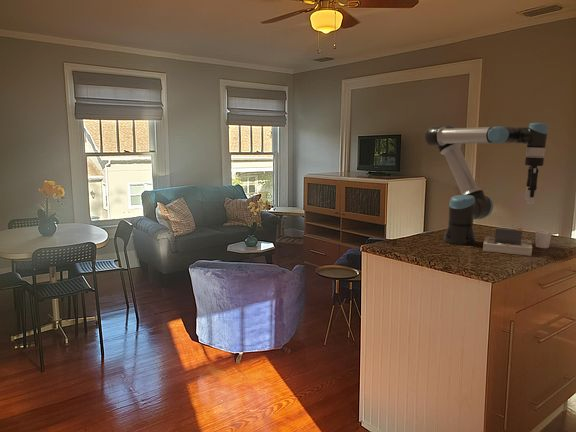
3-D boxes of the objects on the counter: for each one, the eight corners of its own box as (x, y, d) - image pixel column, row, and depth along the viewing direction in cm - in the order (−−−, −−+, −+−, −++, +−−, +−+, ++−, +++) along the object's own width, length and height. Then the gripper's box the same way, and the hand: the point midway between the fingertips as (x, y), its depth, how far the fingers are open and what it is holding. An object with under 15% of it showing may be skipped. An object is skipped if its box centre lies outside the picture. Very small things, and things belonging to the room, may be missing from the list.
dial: (492, 245, 209) (494, 228, 208) (494, 240, 220) (495, 224, 218) (521, 248, 204) (523, 231, 202) (521, 243, 214) (523, 226, 213)
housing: (482, 250, 209) (483, 242, 208) (485, 243, 225) (486, 235, 224) (531, 255, 200) (532, 247, 199) (530, 247, 216) (531, 239, 215)
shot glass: (542, 248, 214) (543, 234, 212) (530, 245, 220) (532, 231, 219) (553, 247, 215) (555, 233, 214) (542, 244, 222) (543, 231, 221)
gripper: (547, 158, 194) (541, 206, 198) (541, 156, 217) (535, 199, 221) (527, 157, 197) (522, 205, 201) (523, 155, 220) (518, 198, 224)
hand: (529, 202), depth 211 cm, fingers open, 13 cm apart
